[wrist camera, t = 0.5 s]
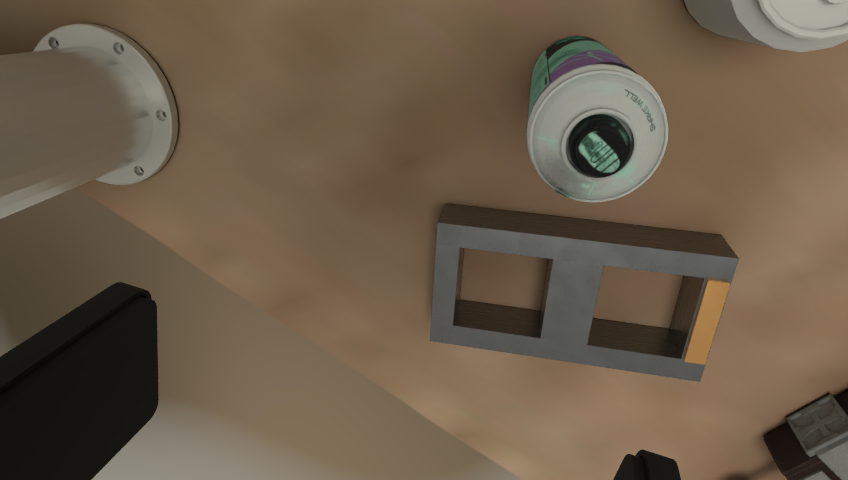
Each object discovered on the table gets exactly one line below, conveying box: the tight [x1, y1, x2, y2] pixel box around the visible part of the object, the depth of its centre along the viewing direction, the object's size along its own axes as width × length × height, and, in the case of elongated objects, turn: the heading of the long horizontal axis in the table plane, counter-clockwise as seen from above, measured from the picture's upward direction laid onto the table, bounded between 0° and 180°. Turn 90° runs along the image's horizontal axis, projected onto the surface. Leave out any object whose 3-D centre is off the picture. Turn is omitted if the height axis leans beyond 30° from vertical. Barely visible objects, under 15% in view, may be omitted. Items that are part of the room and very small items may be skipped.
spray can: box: [527, 36, 668, 202], centre depth 29 cm, size 6×6×20 cm
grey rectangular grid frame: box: [430, 204, 739, 382], centre depth 42 cm, size 20×10×4 cm, turn 87°
